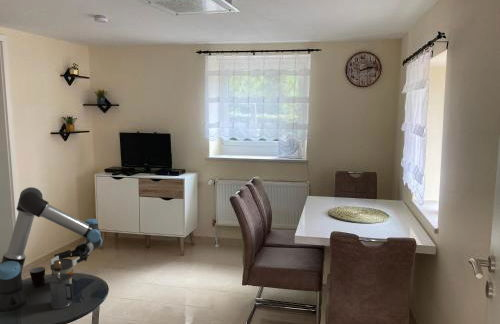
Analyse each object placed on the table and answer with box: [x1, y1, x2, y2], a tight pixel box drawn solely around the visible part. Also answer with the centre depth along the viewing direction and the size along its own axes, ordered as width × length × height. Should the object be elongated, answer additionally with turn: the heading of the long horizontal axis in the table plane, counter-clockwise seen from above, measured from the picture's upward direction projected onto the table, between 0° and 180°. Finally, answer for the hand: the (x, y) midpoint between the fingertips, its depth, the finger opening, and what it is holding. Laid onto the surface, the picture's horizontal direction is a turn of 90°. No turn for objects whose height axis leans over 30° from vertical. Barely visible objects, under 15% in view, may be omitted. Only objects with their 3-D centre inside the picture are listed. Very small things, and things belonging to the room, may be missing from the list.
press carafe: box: [44, 273, 75, 310], centre depth 230 cm, size 13×10×16 cm
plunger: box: [54, 260, 62, 278], centre depth 230 cm, size 7×7×22 cm
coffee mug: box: [29, 266, 46, 288], centre depth 258 cm, size 12×9×10 cm
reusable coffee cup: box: [50, 258, 74, 284], centre depth 255 cm, size 13×13×15 cm
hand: (61, 263), depth 231 cm, fingers open, 13 cm apart
